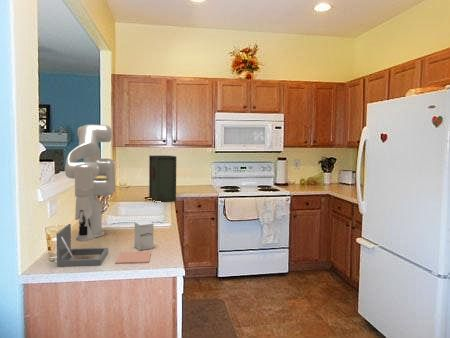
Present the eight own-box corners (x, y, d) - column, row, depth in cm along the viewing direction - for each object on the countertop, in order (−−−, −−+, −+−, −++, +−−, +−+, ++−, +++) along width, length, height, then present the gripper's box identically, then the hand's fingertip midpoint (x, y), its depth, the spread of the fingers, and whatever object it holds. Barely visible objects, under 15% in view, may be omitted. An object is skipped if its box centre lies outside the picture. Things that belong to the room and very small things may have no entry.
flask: (88, 242, 147) (87, 220, 146) (72, 241, 148) (72, 218, 147) (97, 237, 154) (96, 216, 153) (82, 236, 155) (82, 214, 154)
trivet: (120, 253, 159) (120, 252, 159) (151, 252, 161) (151, 251, 161) (115, 263, 146) (115, 262, 146) (148, 262, 148) (148, 261, 148)
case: (69, 253, 157) (68, 223, 156) (108, 252, 160) (107, 223, 159) (57, 266, 141) (56, 233, 140) (100, 265, 144) (100, 232, 143)
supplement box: (138, 250, 164) (139, 225, 163) (134, 246, 170) (134, 221, 169) (153, 248, 168) (153, 223, 167) (148, 244, 174) (148, 220, 173)
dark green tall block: (176, 201, 302) (176, 156, 299) (155, 203, 293) (156, 156, 290) (168, 198, 318) (168, 155, 315) (149, 199, 309) (149, 155, 306)
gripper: (80, 189, 156) (81, 227, 158) (69, 196, 140) (70, 239, 142) (97, 189, 157) (98, 227, 159) (88, 196, 141) (89, 239, 143)
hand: (85, 232), depth 151 cm, fingers closed on flask, 4 cm apart
